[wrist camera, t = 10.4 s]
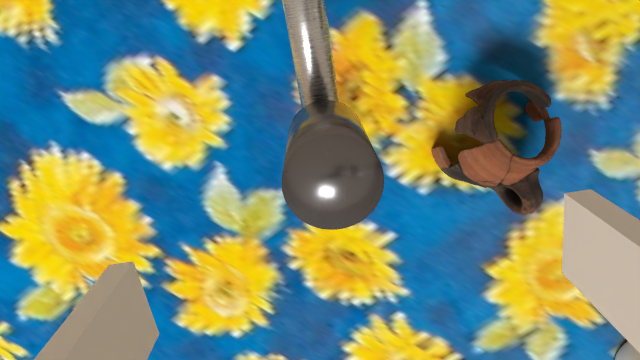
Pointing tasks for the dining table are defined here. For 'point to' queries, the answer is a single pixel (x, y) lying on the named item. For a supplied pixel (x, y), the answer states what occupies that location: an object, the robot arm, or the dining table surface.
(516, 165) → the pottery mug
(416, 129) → the dining table surface
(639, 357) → the milk bottle
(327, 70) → the shaft
